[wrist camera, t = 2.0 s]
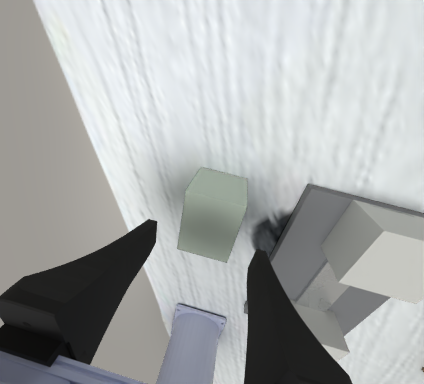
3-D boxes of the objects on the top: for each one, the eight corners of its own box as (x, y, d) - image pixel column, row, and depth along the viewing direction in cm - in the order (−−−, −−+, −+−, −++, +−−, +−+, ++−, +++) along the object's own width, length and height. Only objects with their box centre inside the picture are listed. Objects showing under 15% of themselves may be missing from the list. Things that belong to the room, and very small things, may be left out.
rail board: (335, 332, 26) (339, 344, 24) (244, 305, 26) (243, 316, 25) (459, 222, 16) (476, 233, 14) (307, 183, 16) (312, 191, 15)
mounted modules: (312, 333, 25) (322, 372, 21) (268, 320, 25) (272, 356, 22) (426, 218, 15) (480, 256, 12) (353, 199, 15) (384, 230, 12)
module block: (231, 226, 20) (226, 262, 16) (192, 215, 20) (177, 249, 16) (247, 178, 17) (247, 206, 13) (201, 166, 17) (185, 190, 13)
